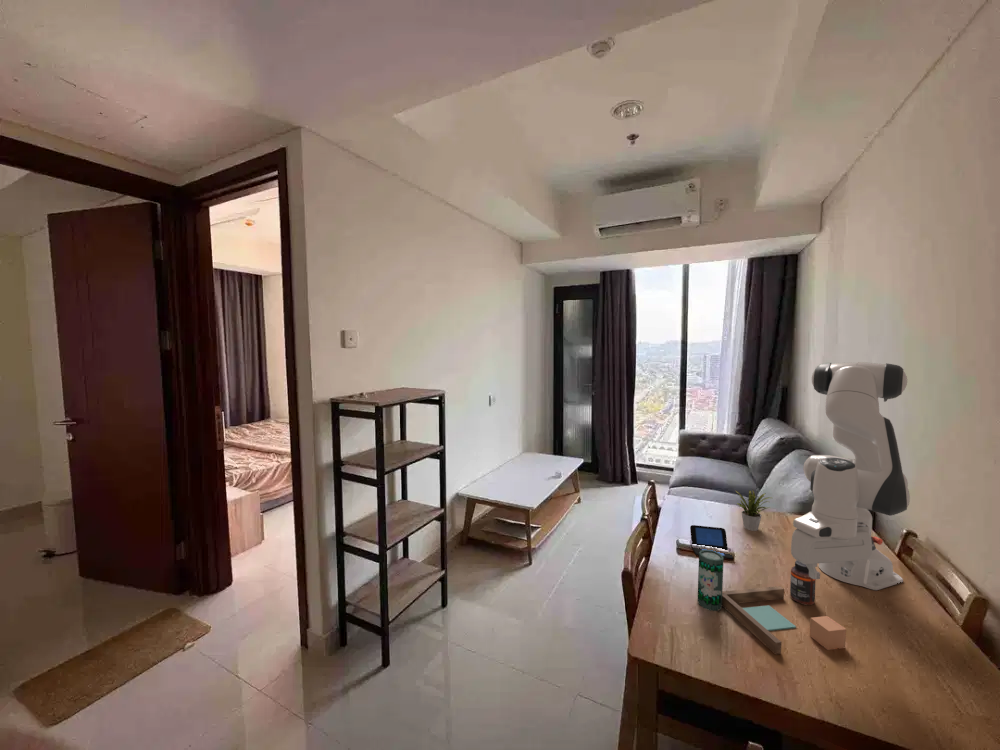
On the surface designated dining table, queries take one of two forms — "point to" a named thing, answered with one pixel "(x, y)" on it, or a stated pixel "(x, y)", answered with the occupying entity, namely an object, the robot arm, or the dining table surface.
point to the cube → (827, 632)
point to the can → (710, 580)
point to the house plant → (751, 511)
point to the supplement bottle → (802, 584)
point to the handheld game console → (709, 538)
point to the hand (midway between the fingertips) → (830, 576)
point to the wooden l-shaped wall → (747, 620)
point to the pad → (769, 618)
